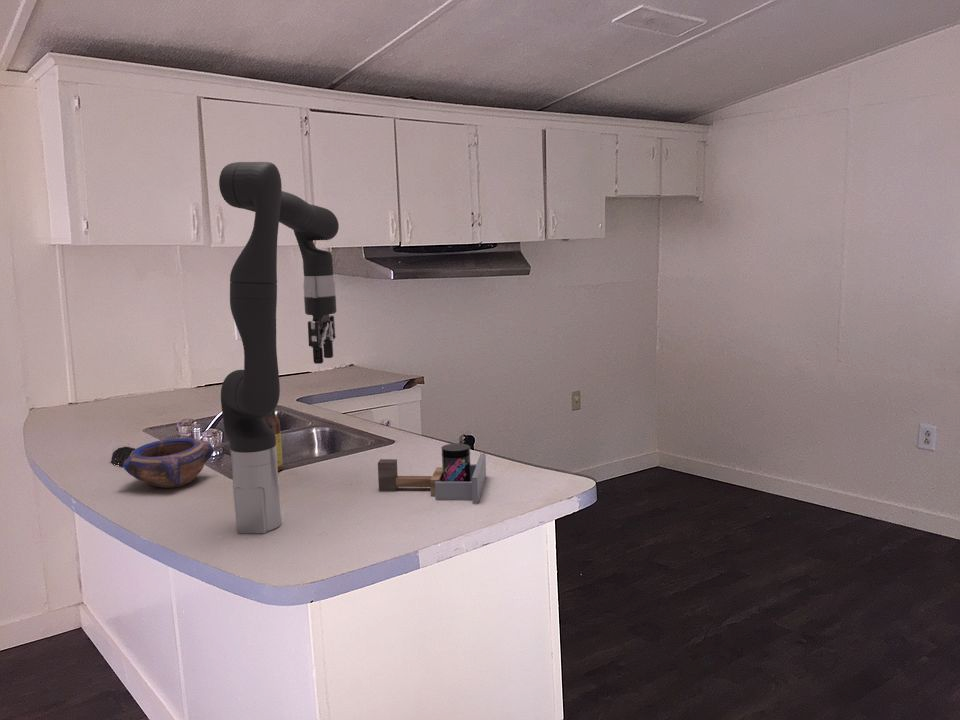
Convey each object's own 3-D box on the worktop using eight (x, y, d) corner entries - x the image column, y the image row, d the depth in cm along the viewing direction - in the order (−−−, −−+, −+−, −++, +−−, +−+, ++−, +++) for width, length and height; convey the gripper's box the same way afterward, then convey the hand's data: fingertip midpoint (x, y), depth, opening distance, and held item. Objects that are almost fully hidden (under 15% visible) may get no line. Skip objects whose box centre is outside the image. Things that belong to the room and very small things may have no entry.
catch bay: (477, 503, 181) (477, 477, 180) (433, 503, 182) (432, 477, 181) (486, 476, 200) (485, 453, 199) (446, 476, 201) (445, 453, 200)
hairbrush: (125, 470, 207) (107, 446, 227) (126, 484, 207) (108, 458, 228) (159, 464, 211) (138, 441, 231) (160, 478, 212) (139, 454, 232)
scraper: (439, 496, 187) (438, 467, 186) (375, 496, 188) (374, 467, 187) (445, 483, 196) (444, 455, 195) (384, 482, 198) (383, 455, 197)
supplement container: (436, 490, 191) (435, 447, 190) (458, 483, 196) (457, 441, 194) (455, 496, 186) (454, 452, 185) (477, 489, 191) (475, 446, 189)
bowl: (115, 491, 197) (111, 452, 196) (167, 471, 214) (163, 434, 212) (174, 497, 191) (171, 457, 190) (223, 476, 208) (220, 438, 206)
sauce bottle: (257, 469, 213) (251, 395, 210) (281, 466, 215) (275, 393, 212) (260, 475, 207) (255, 399, 204) (285, 472, 209) (280, 397, 206)
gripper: (313, 292, 203) (317, 356, 205) (295, 297, 189) (299, 365, 191) (342, 291, 202) (346, 356, 204) (326, 296, 188) (330, 365, 190)
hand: (323, 360), depth 198 cm, fingers open, 8 cm apart
